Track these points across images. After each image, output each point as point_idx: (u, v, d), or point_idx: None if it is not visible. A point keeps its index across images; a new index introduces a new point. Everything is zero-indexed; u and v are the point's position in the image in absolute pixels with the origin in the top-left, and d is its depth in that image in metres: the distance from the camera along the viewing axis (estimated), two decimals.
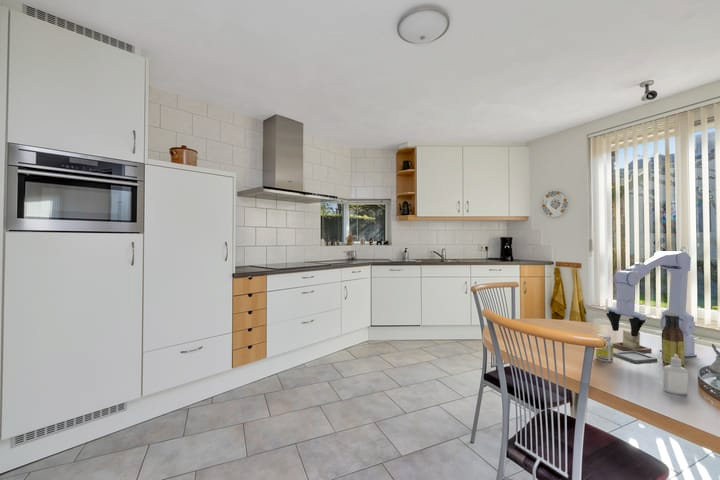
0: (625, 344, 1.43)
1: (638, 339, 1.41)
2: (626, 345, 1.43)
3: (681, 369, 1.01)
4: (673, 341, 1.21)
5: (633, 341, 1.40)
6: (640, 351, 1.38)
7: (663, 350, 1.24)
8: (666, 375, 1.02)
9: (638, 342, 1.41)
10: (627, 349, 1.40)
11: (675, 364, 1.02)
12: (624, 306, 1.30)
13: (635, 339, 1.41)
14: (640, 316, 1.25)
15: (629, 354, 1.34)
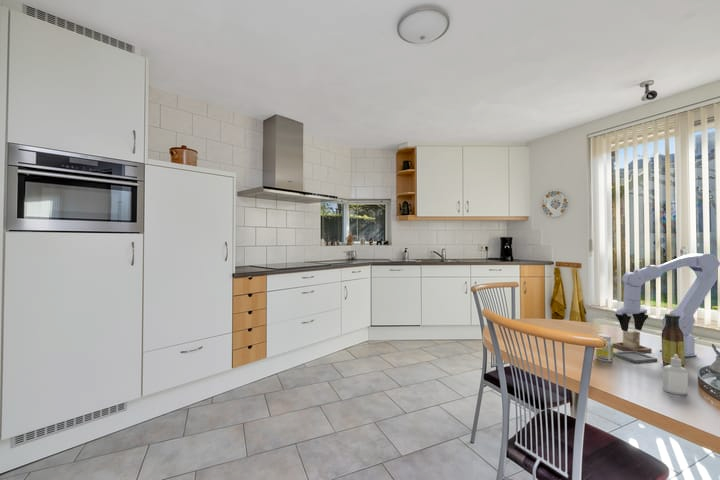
0: (625, 344, 1.43)
1: (638, 339, 1.41)
2: (626, 345, 1.43)
3: (681, 369, 1.01)
4: (673, 341, 1.21)
5: (633, 341, 1.40)
6: (640, 351, 1.38)
7: (663, 350, 1.24)
8: (666, 375, 1.02)
9: (638, 342, 1.41)
10: (627, 349, 1.40)
11: (675, 364, 1.02)
12: None
13: (635, 339, 1.41)
14: None
15: (629, 354, 1.34)
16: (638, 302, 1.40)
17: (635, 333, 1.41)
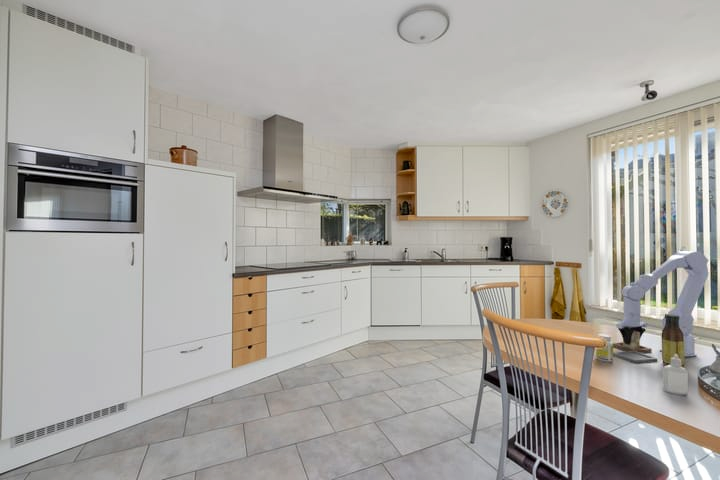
0: (625, 344, 1.43)
1: (638, 339, 1.41)
2: (626, 345, 1.43)
3: (681, 369, 1.01)
4: (673, 341, 1.21)
5: (633, 340, 1.40)
6: (640, 351, 1.38)
7: (663, 350, 1.24)
8: (666, 375, 1.02)
9: (638, 342, 1.41)
10: (627, 349, 1.40)
11: (675, 364, 1.02)
12: (623, 316, 1.45)
13: (635, 339, 1.41)
14: None
15: (629, 354, 1.34)
16: (638, 316, 1.40)
17: (635, 333, 1.41)
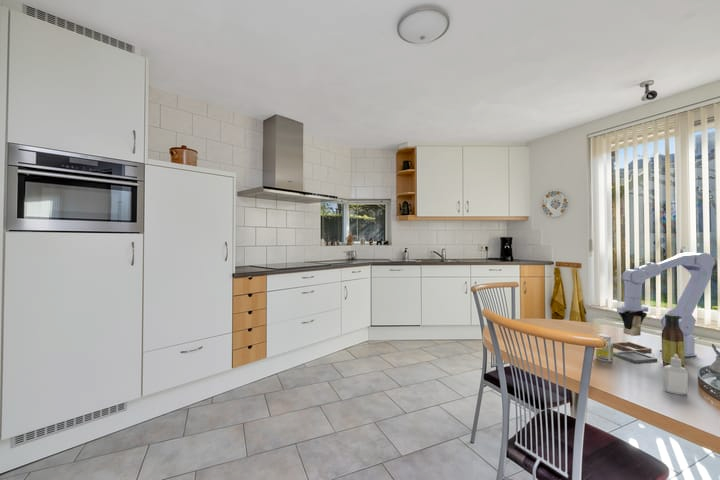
0: (626, 329, 1.40)
1: (639, 324, 1.38)
2: (627, 330, 1.40)
3: (681, 369, 1.01)
4: (673, 341, 1.21)
5: (633, 325, 1.38)
6: (640, 351, 1.38)
7: (663, 350, 1.24)
8: (666, 375, 1.02)
9: (639, 327, 1.38)
10: (627, 349, 1.40)
11: (675, 364, 1.02)
12: (624, 301, 1.42)
13: (636, 324, 1.38)
14: None
15: (629, 354, 1.34)
16: (639, 300, 1.37)
17: (636, 317, 1.38)
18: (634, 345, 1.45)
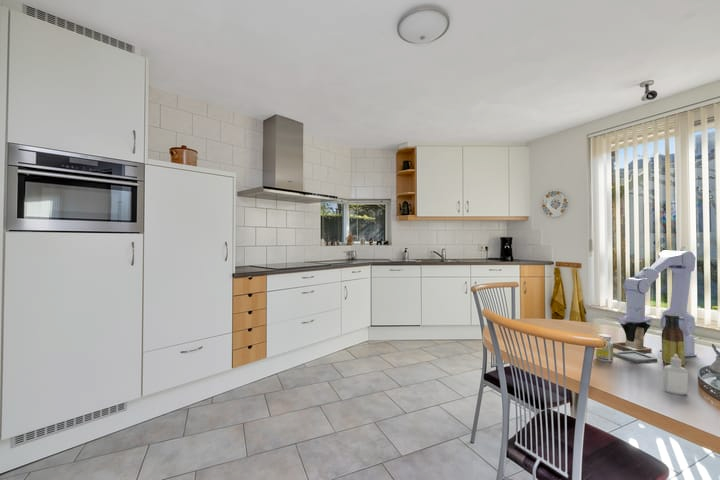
0: (628, 341, 1.32)
1: (642, 336, 1.30)
2: (629, 342, 1.32)
3: (681, 369, 1.01)
4: (673, 341, 1.21)
5: (636, 337, 1.29)
6: (640, 351, 1.38)
7: (663, 350, 1.24)
8: (666, 375, 1.02)
9: (642, 339, 1.30)
10: (627, 349, 1.40)
11: (675, 364, 1.02)
12: (626, 311, 1.34)
13: (639, 336, 1.30)
14: None
15: (629, 354, 1.34)
16: (642, 310, 1.29)
17: (639, 329, 1.30)
18: None
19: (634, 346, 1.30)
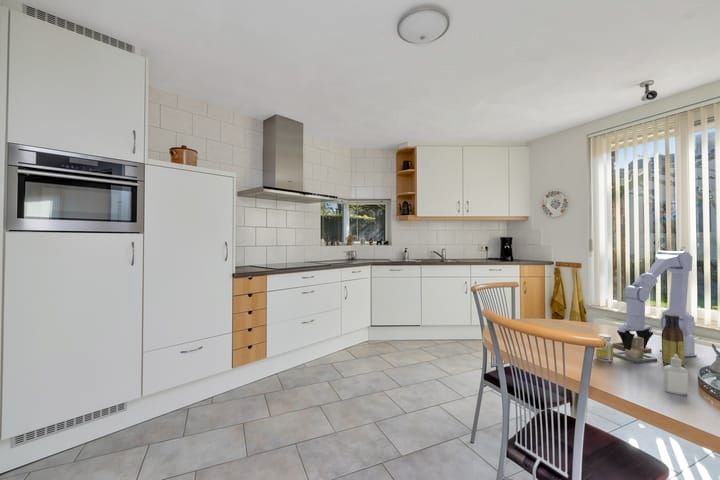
0: (628, 351, 1.32)
1: (642, 346, 1.30)
2: (629, 352, 1.32)
3: (681, 369, 1.01)
4: (673, 341, 1.21)
5: (636, 347, 1.29)
6: None
7: (663, 350, 1.24)
8: (666, 375, 1.02)
9: (642, 349, 1.30)
10: None
11: (675, 364, 1.02)
12: (626, 319, 1.34)
13: (639, 346, 1.30)
14: None
15: None
16: (642, 318, 1.29)
17: (639, 339, 1.30)
18: None
19: (634, 356, 1.30)
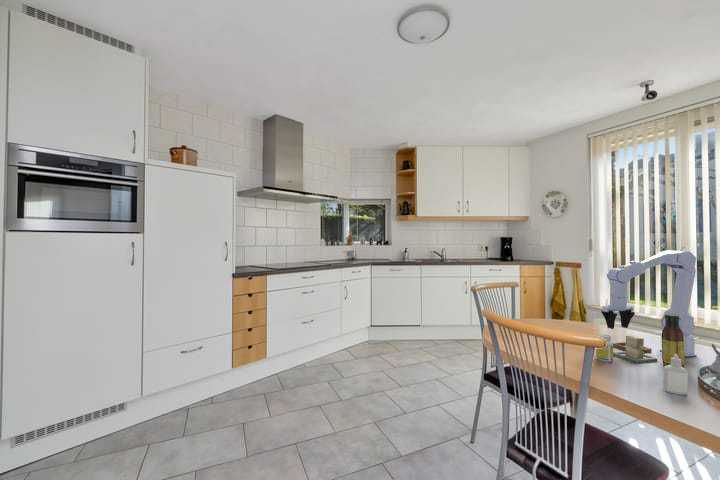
0: (628, 351, 1.32)
1: (642, 346, 1.30)
2: (629, 352, 1.32)
3: (681, 369, 1.01)
4: (673, 341, 1.21)
5: (636, 347, 1.29)
6: None
7: (663, 350, 1.24)
8: (666, 375, 1.02)
9: (642, 349, 1.30)
10: None
11: (675, 364, 1.02)
12: None
13: (639, 346, 1.30)
14: None
15: None
16: (624, 299, 1.36)
17: (639, 339, 1.30)
18: None
19: (634, 356, 1.30)
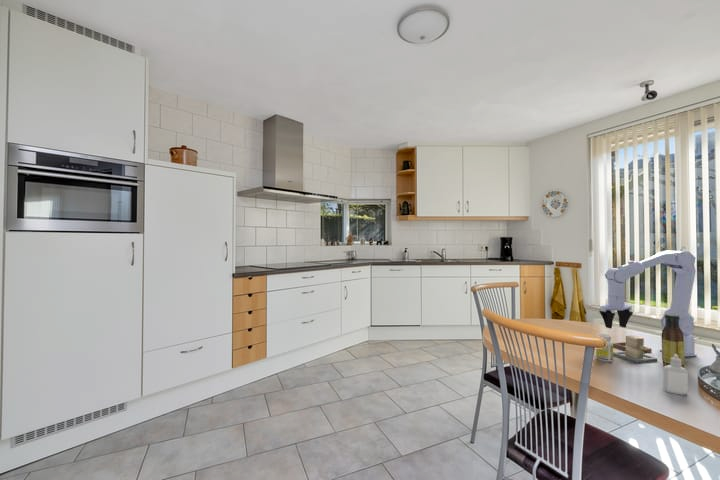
0: (628, 351, 1.32)
1: (642, 346, 1.30)
2: (629, 352, 1.32)
3: (681, 369, 1.01)
4: (673, 341, 1.21)
5: (636, 347, 1.29)
6: None
7: (663, 350, 1.24)
8: (666, 375, 1.02)
9: (642, 349, 1.30)
10: None
11: (675, 364, 1.02)
12: (608, 300, 1.41)
13: (639, 346, 1.30)
14: None
15: None
16: (622, 298, 1.37)
17: (639, 339, 1.30)
18: None
19: (634, 356, 1.30)
